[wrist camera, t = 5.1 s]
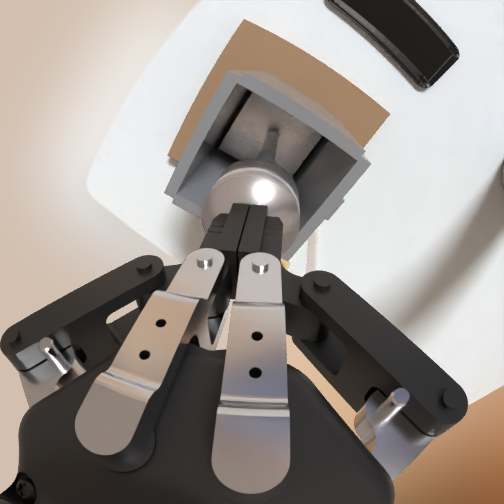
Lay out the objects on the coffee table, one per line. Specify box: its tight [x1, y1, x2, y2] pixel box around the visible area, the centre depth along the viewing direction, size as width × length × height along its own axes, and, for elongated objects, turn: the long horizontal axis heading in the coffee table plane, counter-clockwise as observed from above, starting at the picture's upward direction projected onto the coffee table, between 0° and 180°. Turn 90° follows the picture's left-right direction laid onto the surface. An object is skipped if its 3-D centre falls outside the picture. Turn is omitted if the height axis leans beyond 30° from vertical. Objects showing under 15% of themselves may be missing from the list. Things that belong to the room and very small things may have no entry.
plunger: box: [202, 92, 323, 254], centre depth 20 cm, size 8×8×17 cm
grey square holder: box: [164, 19, 390, 262], centre depth 24 cm, size 18×18×16 cm
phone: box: [328, 0, 459, 88], centre depth 20 cm, size 8×1×15 cm
